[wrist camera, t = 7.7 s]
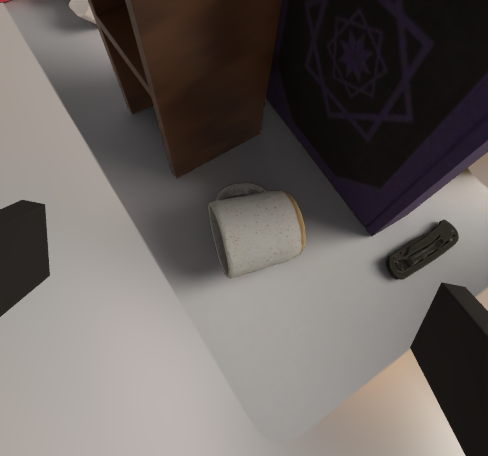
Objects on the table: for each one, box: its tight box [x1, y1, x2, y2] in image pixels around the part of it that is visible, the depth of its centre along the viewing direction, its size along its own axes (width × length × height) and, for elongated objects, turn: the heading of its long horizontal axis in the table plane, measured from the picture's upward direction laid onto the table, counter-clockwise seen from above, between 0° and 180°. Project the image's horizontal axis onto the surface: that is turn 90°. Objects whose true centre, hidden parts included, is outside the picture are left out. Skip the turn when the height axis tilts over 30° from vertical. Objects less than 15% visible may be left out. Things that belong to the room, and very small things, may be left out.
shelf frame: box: [88, 0, 282, 178], centre depth 30 cm, size 12×12×26 cm
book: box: [266, 0, 488, 236], centre depth 28 cm, size 24×6×30 cm, turn 31°
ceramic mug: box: [208, 183, 306, 278], centre depth 34 cm, size 11×8×8 cm
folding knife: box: [386, 220, 459, 279], centre depth 37 cm, size 10×1×3 cm
